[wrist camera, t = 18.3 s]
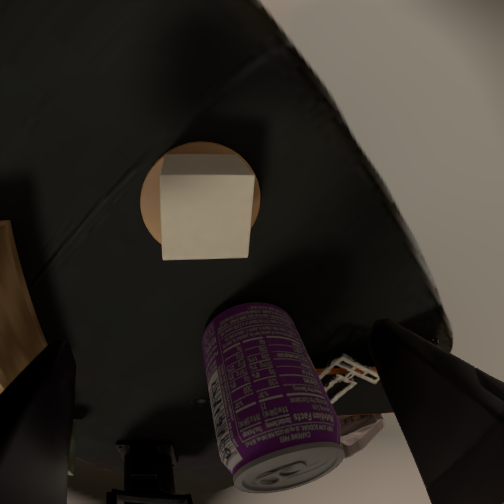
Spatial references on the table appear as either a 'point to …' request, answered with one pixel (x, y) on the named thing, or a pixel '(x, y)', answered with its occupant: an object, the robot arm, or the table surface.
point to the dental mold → (359, 431)
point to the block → (205, 206)
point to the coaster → (152, 184)
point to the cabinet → (15, 313)
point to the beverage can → (268, 401)
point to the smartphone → (357, 394)
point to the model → (347, 374)
